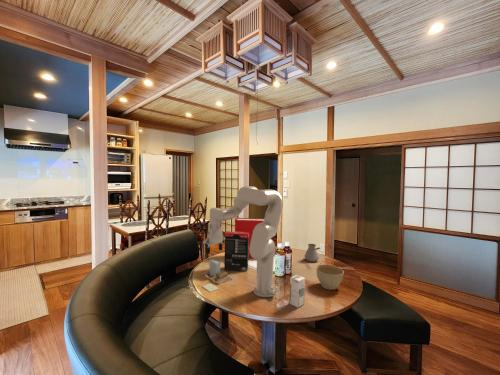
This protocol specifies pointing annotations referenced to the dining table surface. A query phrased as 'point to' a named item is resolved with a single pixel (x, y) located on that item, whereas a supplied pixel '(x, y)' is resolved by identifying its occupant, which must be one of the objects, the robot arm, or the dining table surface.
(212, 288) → the mat
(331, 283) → the planter bowl
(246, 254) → the graphics card box
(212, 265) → the panel
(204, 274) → the rack
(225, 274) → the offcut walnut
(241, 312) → the dining table surface
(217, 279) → the offcut oak
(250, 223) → the book
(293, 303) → the syrup box
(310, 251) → the coffee pot
